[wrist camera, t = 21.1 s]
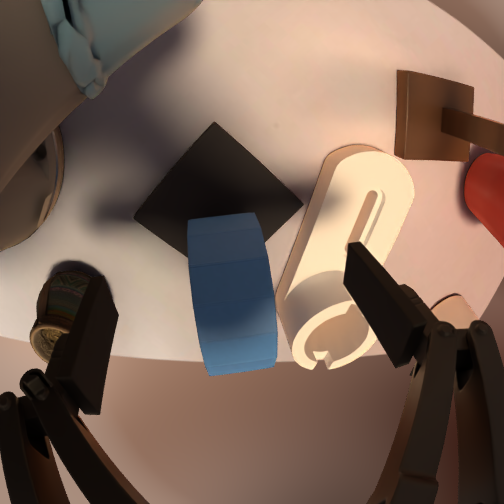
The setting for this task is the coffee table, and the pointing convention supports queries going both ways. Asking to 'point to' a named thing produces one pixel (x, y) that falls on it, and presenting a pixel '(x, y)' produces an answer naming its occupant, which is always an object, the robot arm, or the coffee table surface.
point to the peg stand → (440, 120)
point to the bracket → (340, 253)
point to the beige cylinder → (455, 312)
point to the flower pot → (487, 192)
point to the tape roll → (232, 293)
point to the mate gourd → (57, 310)
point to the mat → (215, 190)
